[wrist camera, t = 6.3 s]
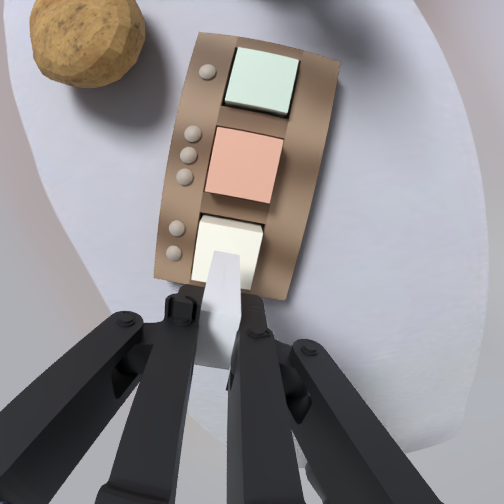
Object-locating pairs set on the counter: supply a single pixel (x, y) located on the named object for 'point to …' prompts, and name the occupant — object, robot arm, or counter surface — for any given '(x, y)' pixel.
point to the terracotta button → (243, 164)
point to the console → (217, 115)
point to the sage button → (261, 82)
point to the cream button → (227, 245)
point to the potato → (86, 40)
